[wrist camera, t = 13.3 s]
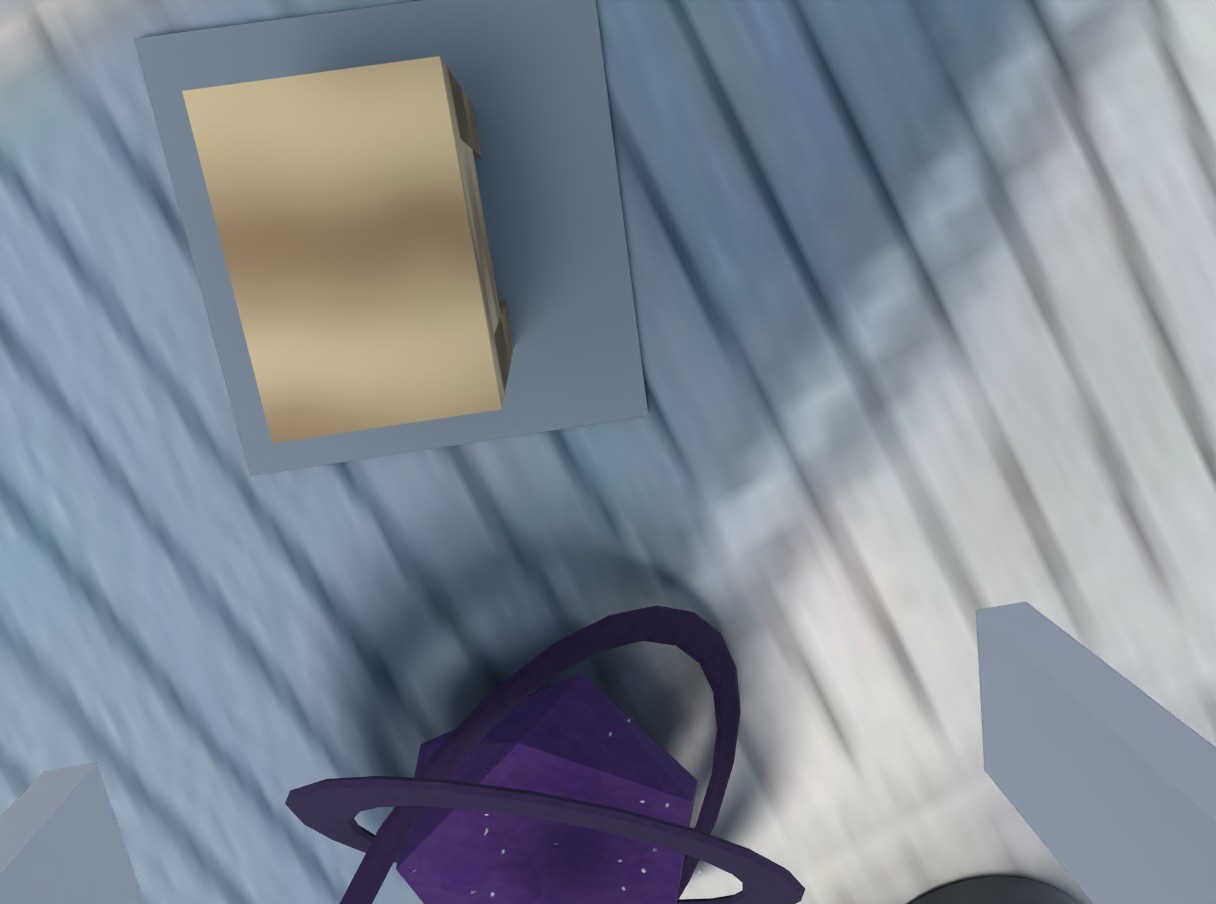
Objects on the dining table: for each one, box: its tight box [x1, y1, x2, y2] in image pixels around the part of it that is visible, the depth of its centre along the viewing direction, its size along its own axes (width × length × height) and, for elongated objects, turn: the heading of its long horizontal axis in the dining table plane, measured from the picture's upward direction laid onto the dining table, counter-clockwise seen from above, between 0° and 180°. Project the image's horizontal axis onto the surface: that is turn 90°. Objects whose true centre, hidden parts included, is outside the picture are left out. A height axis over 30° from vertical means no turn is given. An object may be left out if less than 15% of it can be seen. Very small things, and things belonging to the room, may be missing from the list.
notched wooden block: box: [182, 56, 514, 444], centre depth 31 cm, size 10×7×12 cm
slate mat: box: [134, 0, 648, 476], centre depth 37 cm, size 18×18×1 cm
